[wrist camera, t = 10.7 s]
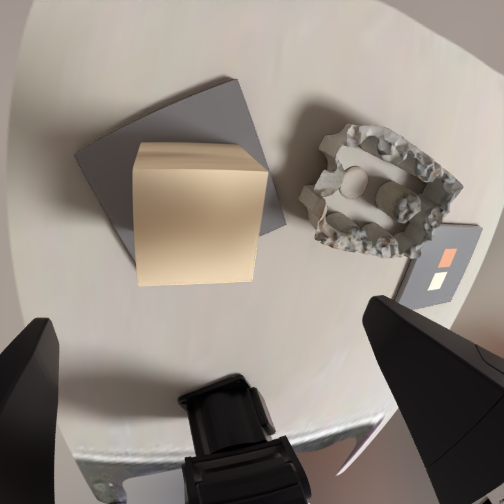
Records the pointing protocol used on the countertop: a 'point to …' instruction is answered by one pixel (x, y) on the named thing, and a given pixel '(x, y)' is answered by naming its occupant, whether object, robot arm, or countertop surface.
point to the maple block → (196, 213)
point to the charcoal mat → (173, 130)
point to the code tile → (439, 266)
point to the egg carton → (380, 195)
